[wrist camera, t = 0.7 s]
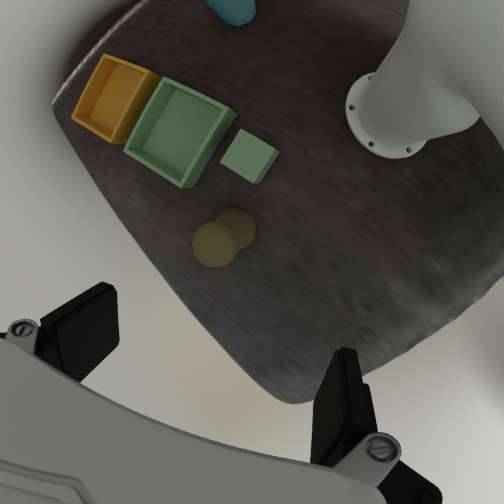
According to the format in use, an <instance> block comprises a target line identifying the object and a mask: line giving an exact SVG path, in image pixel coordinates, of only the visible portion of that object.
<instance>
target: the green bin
mask: <svg viewBox="0 0 504 504" xmlns="http://www.w3.org/2000/svg"><path fill="white" fill-rule="evenodd" d="M236 116H237V114H236V113H235V112H234V111H233V110H231V109H230V108H229V107H227V106H225V105H223V104H221V103H219V102H217V101H215V100H213V99H211V98H209V97H207V96H205V95H203V94H201V93H199V92H197V91H195V90H193V89H191V88H189V87H186V86H184V85H182V84H180V83H178V82H175V81H173V80H171V79H169V78H166V77H163V78H162V80H161V81H160V83H159V85H158V86H157V88H156V90H155V91H154V93H153V95H152V97H151V98H150V100H149V102H148V104H147V105H146V107H145V109H144V111H143V113H142V114H141V116H140V118H139V120H138V122H137V124H136V126H135V128H134V130H133V132H132V134H131V136H130V138H129V140H128V142H127V144H126V146H125V148H124V150H123V151H124V152H125V153H127V154H128V155H130V156H132V157H133V158H135V159H136V160H138V161H139V162H141V163H143V164H144V165H146V166H147V167H149V168H150V169H152V170H153V171H155V172H157V173H158V174H160V175H161V176H163V177H164V178H166V179H167V180H169V181H170V182H172V183H174V184H175V185H177V186H178V187H180V188H189V187H194V186H195V184H196V182H197V181H198V179H199V177H200V175H201V174H202V172H203V170H204V168H205V167H206V165H207V163H208V162H209V160H210V158H211V156H212V155H213V153H214V151H215V150H216V148H217V146H218V145H219V143H220V142H221V140H222V138H223V137H224V135H225V133H226V132H227V130H228V129H229V127H230V125H231V124H232V122H233V121H234V119H235V118H236Z"/></svg>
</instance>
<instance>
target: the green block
mask: <svg viewBox="0 0 504 504" xmlns="http://www.w3.org/2000/svg"><path fill="white" fill-rule="evenodd" d="M278 154H279V151H277V150H276V149H275V148H273V147H272V146H270V145H268V144H267V143H265V142H263V141H262V140H260V139H258V138H257V137H255V136H253V135H252V134H250V133H248V132H246V131H245V130H243V129H240V131H239V132H238V134H237V136H236V137H235V139H234V140H233V142H232V144H231V145H230V147H229V148H228V150H227V152H226V153H225V155H224V157H223V158H222V160H221V162H220V163H221V164H223V165H224V166H226V167H228V168H229V169H231V170H233V171H234V172H236V173H237V174H239V175H241V176H242V177H244V178H245V179H247V180H249V181H250V182H252V183H260V182H261V180H262V179H263V177H264V176H265V174H266V173H267V171H268V170H269V168H270V166H271V165H272V163H273V162H274V160H275V159H276V157H277V156H278Z"/></svg>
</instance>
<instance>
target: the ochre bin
mask: <svg viewBox="0 0 504 504" xmlns="http://www.w3.org/2000/svg"><path fill="white" fill-rule="evenodd" d="M161 80H162V77H160V76H159V75H157V74H155V73H153V72H151V71H150V70H147V69H145V68H142V67H140V66H137V65H135V64H132V63H129V62H127V61H124V60H121V59H118V58H116V57H113V56H110V55H107V54H104V55H103V56H102V58H101V60H100V61H99V63H98V65H97V67H96V68H95V70H94V72H93V74H92V76H91V78H90V80H89V81H88V83H87V85H86V87H85V89H84V91H83V93H82V95H81V98H80V100H79V102H78V104H77V106H76V108H75V110H74V113H73V115H72V117H71V119H73V120H74V121H76V122H78V123H79V124H81V125H82V126H84V127H86V128H87V129H89V130H90V131H92V132H94V133H95V134H97V135H98V136H100V137H102V138H103V139H105V140H106V141H108V142H109V143H114V144H125V145H126V144H127V142H128V140H129V138H130V136H131V134H132V132H133V130H134V128H135V126H136V124H137V122H138V120H139V118H140V116H141V114H142V113H143V111H144V109H145V107H146V105H147V104H148V102H149V100H150V98H151V97H152V95H153V93H154V91H155V90H156V88H157V86H158V85H159V83H160V81H161Z"/></svg>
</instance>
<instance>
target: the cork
mask: <svg viewBox="0 0 504 504" xmlns="http://www.w3.org/2000/svg"><path fill="white" fill-rule="evenodd" d="M255 233H256V226H255V222H254V220H253V218H252V217H251V216H250V215H249V214H248V212H246V211H244V210H242V209H238V208H231V209H227V210H225V211H223V212H222V213H221V214H220V215H219V216H218V217H217V219H216V220H215V221H213V222H208V223H206V224H204V225H202V226H201V227H200V228H199V229H198V230H197V231H196V233H195V235H194V237H193V243H192V246H193V251H194V253H195V255H196V257H197V258H198V260H199V261H200V262H201V263H203V264H205V265H206V266H209V267H222V266H224V265H227V264H228V263H230V262H231V261H232V260H233V259H234V257H235V255H236V253H237V251H239V250H241V249H243V248H245V247H247V246H248V245H249V244H250V243H251V242H252V241H253V239H254V237H255Z"/></svg>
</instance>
